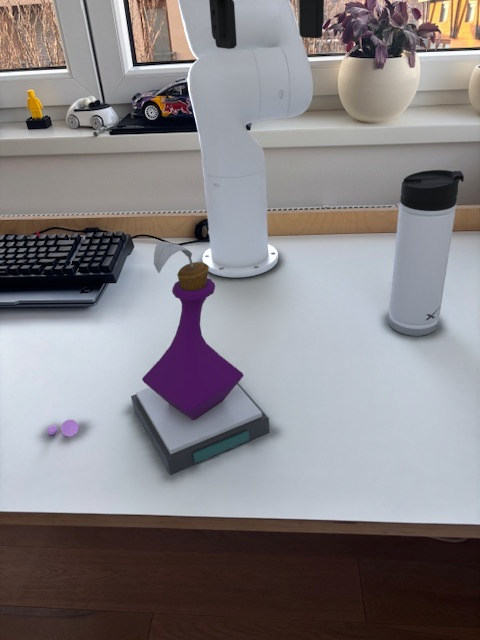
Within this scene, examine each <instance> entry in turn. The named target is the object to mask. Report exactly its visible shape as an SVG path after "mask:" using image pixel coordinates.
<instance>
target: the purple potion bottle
mask: <svg viewBox="0 0 480 640" xmlns="http://www.w3.org/2000/svg"><path fill="white" fill-rule="evenodd" d="M180 251H181V252H182V253H183V254H184V256H186V257H187V258H188V260H189V263H187V264H184V265H183V266H182V267H181V268H179V270H178V272H177V273H176V274H177V279H178V281H176V282H174V284H173V286H172V289H171V292H172V295H173V296H174V298H176V299H178V300H179V301H180V303H181V312H180V317H179V322H178V326H177V329H176V332H175V335H174V336H173V339H172V341H171V343H170V345H169V346H168V348H167V349H166V351H165V352H164V353H163V354H162V356H161V357H160V358H159V359H158V361H156V363H155V364H154V365H153V366H152V367H151V368H150V369H149V370H148V372H146V373H145V374H144V376H143V377H142V379H141V381H142V382H143V383H144V384H145V385H146V386H147V387H148V388H151V389H152V390H154V391H155V392H156V393H157V394H158V395H160V396H161V397H162V398H163V399H164V400H165V401H167V402H168V403H169V404H170V405H172V406H173V407H175V408H176V409H178V410H179V411H180V412H182V413H183V414H185V415H186V416H187V417H189V418H190V419H192V420H195V419H197V418H198V417H200V416H201V415H203V414H204V413H206V412H207V411H209V410H210V409H212V408H213V407H215V406H216V405H218V404H219V403H221V402H222V401H223V400H224V399H225V398H226V397H227V395H228V394H229V393H230V392H231V391H232V389H233V388H234V387H235V386H236V385H237V383H238V384H239V383H240V382H241V380H242V379H243V378H244V373H243V372H242V371H241V370H240V369H238V367H235V365H233V364H232V363H231V362H230V361H228V360H227V359H226V358H224V356H222V355H221V354H220V353H218V352H217V351H216V350H215V349H214V348H213V347H212V346H210V345H209V344H208V343H207V342H206V340H205V339H204V337H203V334H202V327H201V319H202V318H201V316H202V310H203V305H204V303H205V302H206V300H207V298H209V297H210V296H212V295H213V294H215V290H216V283H215V282H214V281H213V280H212V279H211V278H208V275H209V271H208V269H209V266H208V265H207V264H205V263H203V261H194V262H193V260H192V256H193V253H192V251H190V250H189V249H188V248H185V247H184V246H182V245H180V244H177V243H173V242H172V243H171V242H168V241H161V242H160V241H159V242H158V243H157V245H155V247H154V252H153V265H154V268H155V270H156V271H157V273H158V274H160V273H161V272H162V269H163V267H164V266H165V264H167V261H168V260H169V259H170V258H171V257H172V256H173V255H175V254H176V253H178V252H180Z"/></svg>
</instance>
